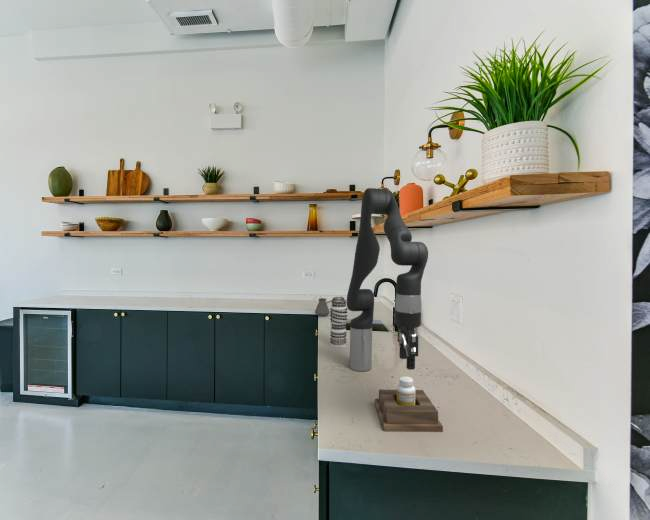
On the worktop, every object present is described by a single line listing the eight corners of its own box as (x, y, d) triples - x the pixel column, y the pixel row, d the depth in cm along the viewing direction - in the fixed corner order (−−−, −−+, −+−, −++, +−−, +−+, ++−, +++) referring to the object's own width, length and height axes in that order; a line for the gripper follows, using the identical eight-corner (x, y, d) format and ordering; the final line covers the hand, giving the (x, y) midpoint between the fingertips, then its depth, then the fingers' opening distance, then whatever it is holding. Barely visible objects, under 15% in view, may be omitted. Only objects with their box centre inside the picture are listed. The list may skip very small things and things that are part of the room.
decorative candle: (346, 347, 163) (347, 299, 162) (328, 346, 164) (328, 298, 164) (347, 342, 172) (348, 296, 171) (330, 341, 173) (331, 296, 173)
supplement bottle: (401, 405, 99) (401, 374, 99) (418, 410, 96) (418, 378, 95) (393, 411, 95) (393, 379, 94) (410, 417, 91) (411, 384, 91)
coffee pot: (313, 316, 240) (313, 297, 240) (315, 313, 252) (316, 294, 251) (342, 317, 238) (342, 297, 238) (342, 314, 249) (343, 295, 249)
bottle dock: (374, 403, 103) (375, 388, 103) (424, 403, 103) (424, 388, 103) (384, 431, 87) (384, 413, 87) (442, 431, 87) (443, 413, 87)
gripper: (390, 304, 101) (389, 355, 102) (401, 314, 87) (399, 372, 88) (414, 305, 101) (412, 355, 102) (428, 314, 87) (427, 373, 88)
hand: (406, 363), depth 95 cm, fingers open, 8 cm apart
